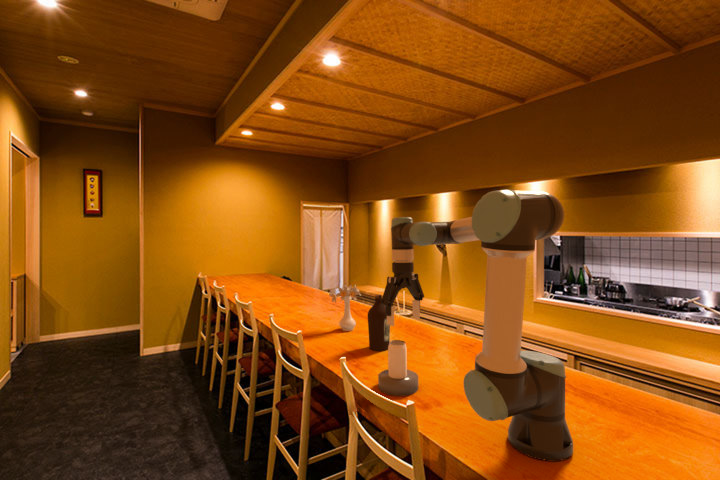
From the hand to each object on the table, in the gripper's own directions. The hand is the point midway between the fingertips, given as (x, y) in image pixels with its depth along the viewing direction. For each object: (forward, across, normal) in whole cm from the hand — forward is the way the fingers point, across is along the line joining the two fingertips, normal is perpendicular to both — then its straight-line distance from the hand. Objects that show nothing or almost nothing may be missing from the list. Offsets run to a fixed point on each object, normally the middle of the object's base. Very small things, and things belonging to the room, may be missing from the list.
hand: (403, 321), depth 132 cm
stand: (+23, +2, -2) cm, 23 cm away
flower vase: (+23, -33, -71) cm, 82 cm away
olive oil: (+23, -24, -37) cm, 49 cm away
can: (+19, +2, -2) cm, 20 cm away
